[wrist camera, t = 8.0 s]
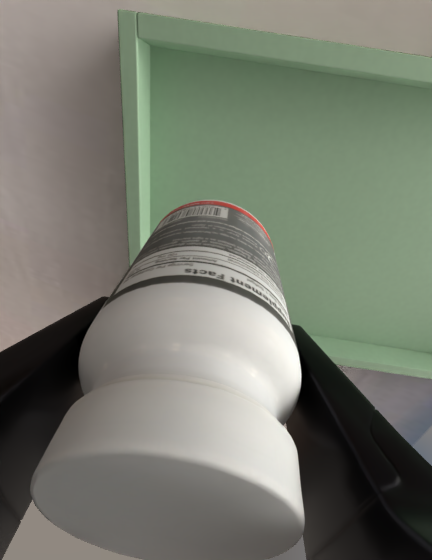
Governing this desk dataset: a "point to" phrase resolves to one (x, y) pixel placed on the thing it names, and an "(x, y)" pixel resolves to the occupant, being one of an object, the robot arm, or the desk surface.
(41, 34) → the desk surface
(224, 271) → the pill bottle
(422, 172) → the tray
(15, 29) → the desk surface
